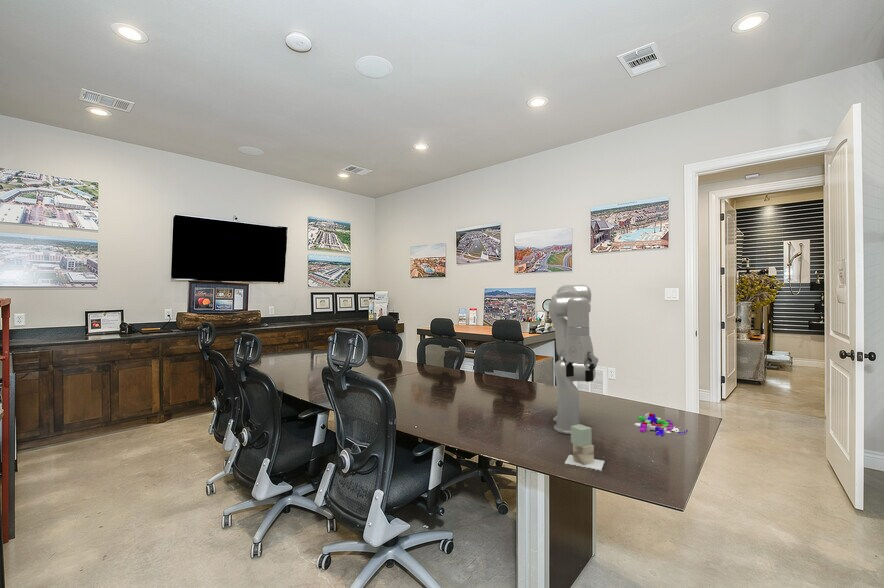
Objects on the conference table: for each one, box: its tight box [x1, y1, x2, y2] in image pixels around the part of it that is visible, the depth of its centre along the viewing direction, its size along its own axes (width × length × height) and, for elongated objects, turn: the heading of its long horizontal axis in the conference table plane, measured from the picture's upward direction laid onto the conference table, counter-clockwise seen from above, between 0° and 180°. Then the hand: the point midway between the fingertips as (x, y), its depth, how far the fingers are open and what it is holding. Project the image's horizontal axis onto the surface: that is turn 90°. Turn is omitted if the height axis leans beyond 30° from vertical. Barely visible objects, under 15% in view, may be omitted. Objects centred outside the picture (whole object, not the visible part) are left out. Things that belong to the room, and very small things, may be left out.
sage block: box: [570, 423, 593, 447], centre depth 144 cm, size 5×5×6 cm
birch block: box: [572, 443, 595, 465], centre depth 143 cm, size 5×5×6 cm
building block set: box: [633, 412, 688, 437], centre depth 180 cm, size 25×20×4 cm
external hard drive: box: [564, 454, 606, 472], centre depth 143 cm, size 2×8×12 cm
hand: (579, 378), depth 144 cm, fingers open, 9 cm apart
